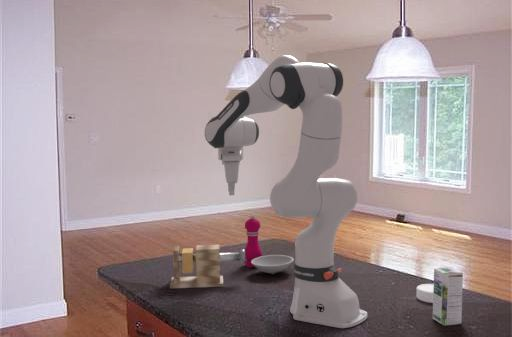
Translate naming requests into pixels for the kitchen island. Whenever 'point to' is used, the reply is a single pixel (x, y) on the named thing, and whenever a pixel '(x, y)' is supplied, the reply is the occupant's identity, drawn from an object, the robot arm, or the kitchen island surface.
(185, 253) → the block
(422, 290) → the white round disc
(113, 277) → the kitchen island surface
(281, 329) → the kitchen island surface
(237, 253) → the shaft
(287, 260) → the dish
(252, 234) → the pepper mill
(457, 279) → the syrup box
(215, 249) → the bracket
